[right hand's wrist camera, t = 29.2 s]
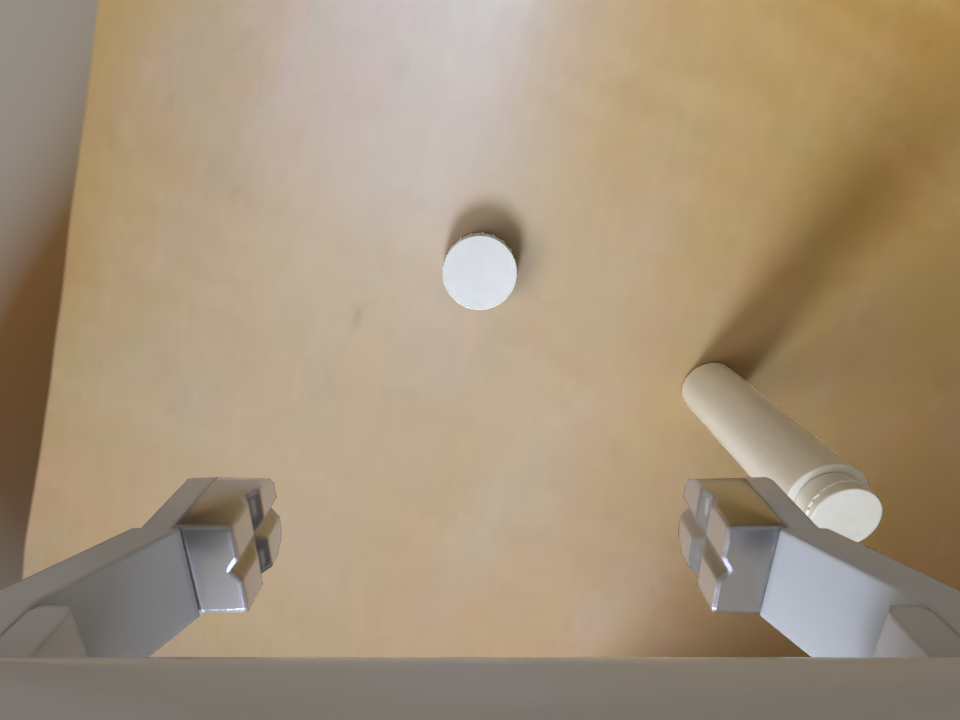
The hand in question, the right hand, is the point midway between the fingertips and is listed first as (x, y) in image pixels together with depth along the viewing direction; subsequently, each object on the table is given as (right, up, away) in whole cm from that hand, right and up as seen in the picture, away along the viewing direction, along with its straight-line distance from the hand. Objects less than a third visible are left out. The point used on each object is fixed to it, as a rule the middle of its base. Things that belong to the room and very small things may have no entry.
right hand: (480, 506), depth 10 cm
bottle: (+17, +1, +28) cm, 32 cm away
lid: (0, +9, +23) cm, 25 cm away
